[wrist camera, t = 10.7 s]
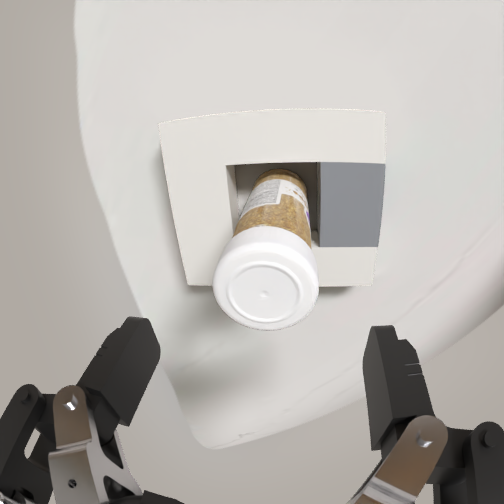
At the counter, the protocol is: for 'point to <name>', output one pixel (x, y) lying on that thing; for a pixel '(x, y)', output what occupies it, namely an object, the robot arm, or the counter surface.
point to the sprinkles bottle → (269, 257)
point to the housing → (277, 151)
